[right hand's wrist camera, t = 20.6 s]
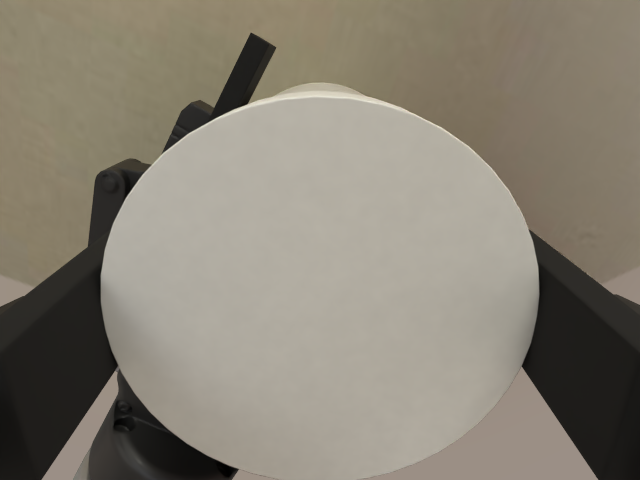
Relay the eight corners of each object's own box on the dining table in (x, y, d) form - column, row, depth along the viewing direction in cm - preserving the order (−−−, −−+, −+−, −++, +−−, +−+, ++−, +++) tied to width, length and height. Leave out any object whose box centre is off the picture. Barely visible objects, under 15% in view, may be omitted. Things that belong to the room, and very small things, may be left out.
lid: (584, 183, 11) (631, 204, 9) (408, 469, 14) (420, 522, 13) (189, 18, 10) (161, 8, 8) (96, 375, 13) (63, 420, 11)
